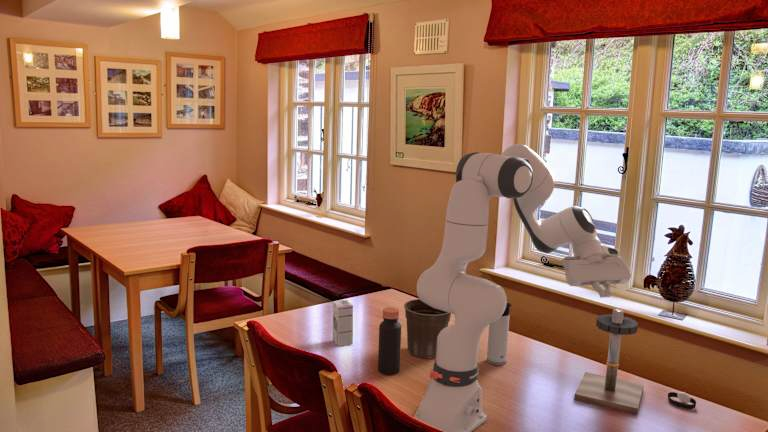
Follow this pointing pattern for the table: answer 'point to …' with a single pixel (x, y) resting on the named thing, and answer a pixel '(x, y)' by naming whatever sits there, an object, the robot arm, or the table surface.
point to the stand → (609, 393)
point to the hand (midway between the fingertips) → (606, 296)
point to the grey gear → (617, 325)
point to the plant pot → (424, 328)
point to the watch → (683, 398)
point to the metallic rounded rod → (613, 353)
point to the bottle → (389, 342)
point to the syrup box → (342, 322)
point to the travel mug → (498, 339)
